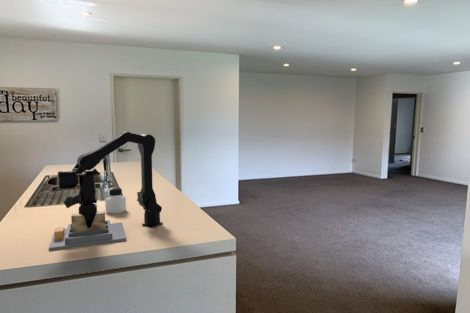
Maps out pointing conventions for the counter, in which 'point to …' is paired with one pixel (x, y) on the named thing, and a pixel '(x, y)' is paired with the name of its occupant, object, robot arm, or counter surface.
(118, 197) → the medicine bottle
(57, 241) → the slotted rack
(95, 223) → the oak divider
